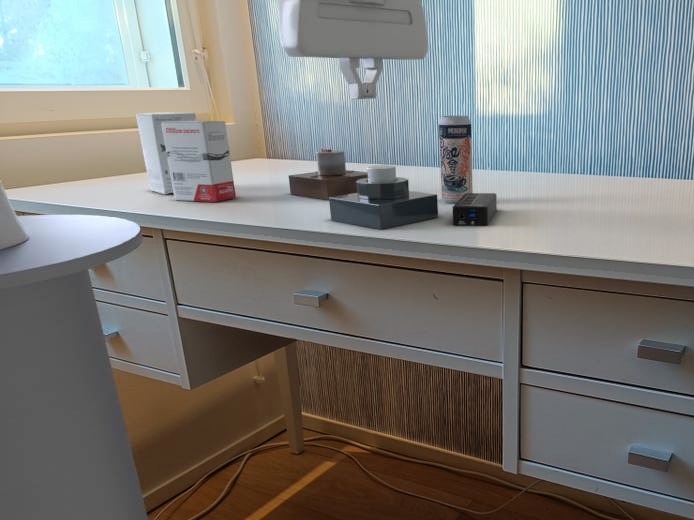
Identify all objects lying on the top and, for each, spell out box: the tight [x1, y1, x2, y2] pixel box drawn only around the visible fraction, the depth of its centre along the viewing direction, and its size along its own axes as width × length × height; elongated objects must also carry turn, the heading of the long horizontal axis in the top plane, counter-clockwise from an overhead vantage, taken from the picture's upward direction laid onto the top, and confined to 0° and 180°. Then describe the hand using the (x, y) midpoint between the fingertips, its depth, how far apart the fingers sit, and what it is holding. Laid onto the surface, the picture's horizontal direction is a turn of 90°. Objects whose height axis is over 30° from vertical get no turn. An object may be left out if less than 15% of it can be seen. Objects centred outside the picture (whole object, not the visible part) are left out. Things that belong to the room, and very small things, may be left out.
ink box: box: [161, 120, 237, 203], centre depth 106 cm, size 8×5×12 cm, turn 68°
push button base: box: [328, 176, 439, 230], centre depth 89 cm, size 10×10×5 cm
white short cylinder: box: [366, 164, 397, 182], centre depth 88 cm, size 4×4×2 cm
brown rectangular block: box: [288, 169, 368, 201], centre depth 112 cm, size 10×10×3 cm
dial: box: [315, 148, 347, 176], centre depth 110 cm, size 4×4×4 cm
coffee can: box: [438, 115, 474, 204], centre depth 100 cm, size 5×5×12 cm
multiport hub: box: [452, 192, 498, 227], centre depth 90 cm, size 4×11×2 cm, turn 173°
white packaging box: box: [135, 111, 197, 195], centre depth 116 cm, size 7×7×13 cm
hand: (363, 98), depth 86 cm, fingers closed
